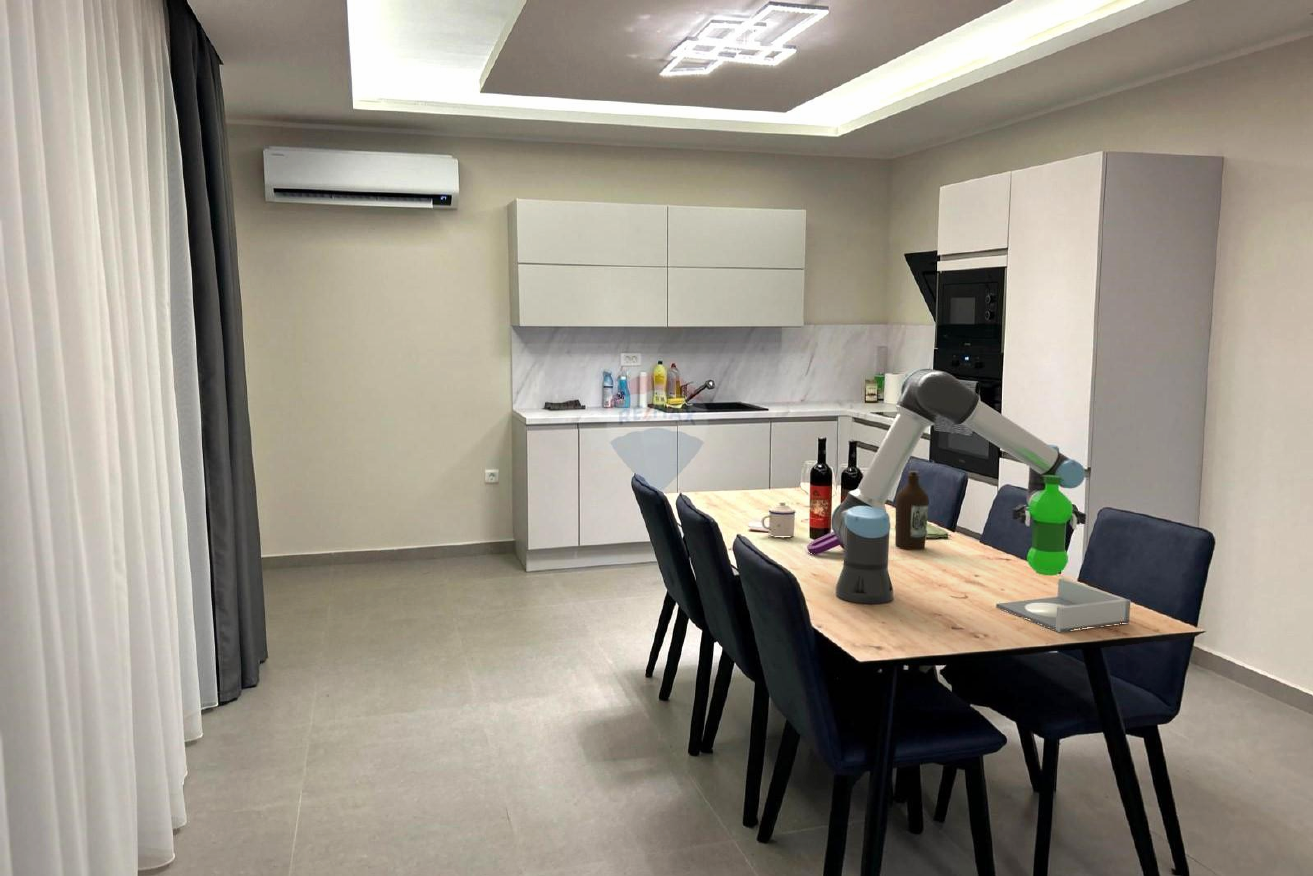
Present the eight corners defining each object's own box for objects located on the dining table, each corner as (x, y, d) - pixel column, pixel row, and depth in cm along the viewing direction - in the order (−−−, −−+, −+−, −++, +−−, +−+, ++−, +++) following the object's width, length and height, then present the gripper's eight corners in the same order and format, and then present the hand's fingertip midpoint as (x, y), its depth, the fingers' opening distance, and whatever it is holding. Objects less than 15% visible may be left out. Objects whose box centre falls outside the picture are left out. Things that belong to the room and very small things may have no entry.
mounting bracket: (820, 575, 306) (872, 551, 305) (809, 551, 305) (862, 527, 304) (815, 567, 315) (866, 544, 315) (804, 544, 314) (855, 521, 314)
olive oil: (886, 544, 323) (890, 470, 320) (911, 542, 328) (915, 468, 325) (908, 551, 314) (911, 475, 311) (933, 548, 319) (937, 473, 316)
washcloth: (917, 541, 331) (917, 532, 331) (892, 530, 348) (892, 521, 348) (951, 540, 334) (952, 530, 334) (925, 529, 351) (925, 520, 351)
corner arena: (1060, 633, 233) (1061, 608, 232) (996, 607, 253) (997, 585, 252) (1128, 623, 241) (1130, 600, 240) (1061, 599, 261) (1063, 578, 261)
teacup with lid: (787, 532, 340) (789, 499, 339) (799, 537, 331) (800, 504, 330) (756, 533, 336) (757, 500, 335) (766, 539, 328) (767, 505, 326)
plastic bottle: (1072, 579, 243) (1079, 480, 240) (1028, 576, 245) (1034, 478, 242) (1064, 569, 253) (1070, 474, 250) (1021, 566, 255) (1027, 472, 252)
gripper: (1088, 523, 261) (1100, 540, 240) (999, 517, 268) (1002, 533, 247) (1090, 495, 260) (1102, 510, 239) (1000, 490, 267) (1004, 504, 246)
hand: (1051, 522), depth 243 cm, fingers closed on plastic bottle, 10 cm apart
